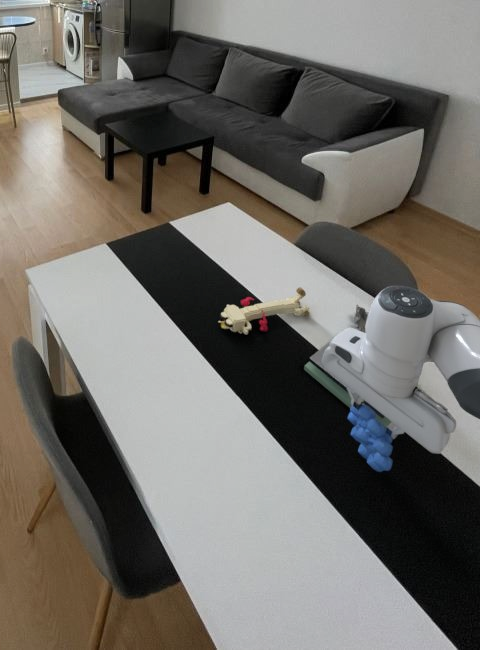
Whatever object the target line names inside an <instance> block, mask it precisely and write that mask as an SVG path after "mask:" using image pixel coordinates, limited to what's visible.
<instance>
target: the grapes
mask: <svg viewBox="0 0 480 650" xmlns="http://www.w3.org/2000/svg"><path fill="white" fill-rule="evenodd" d="M375 416H376V413H375V412H374V411H373V410H372V409H371V408H370V407H369V406H367V405H361V406H360V407H359V409H358V410H357V409H356V408H355V407H354V406H351V408H349V413H348V415H347V417H346V418H347V420H348V422H350V423H351V424H352V425H353V427H352V428H351V431H350V437H352V439H354V441H356V442H358V443H360V444H359V446H358V449H357V453H359V455H360V456H361V457H362V458H364V459H365V460H366V464H368V465H369V466H370V468H371V469H373V470H374V471H376V472H377V473H383V471H385V472H389V471H390V470H391V469H392V466H393V464H394V463H393V462H394V460H393V459H392V458H391V457H390V456H391V455H392V452H393V449H394V446H393V445H392V443H393V440H394V439H393V438H392V437H390V436H389V435H388V434H387V433H386V432H385V431H386V427H385V426H384V425H383V424H382V423H381V422H380V421H378V420H377V419H375Z"/></svg>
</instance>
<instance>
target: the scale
mask: <svg viewBox="0 0 480 650" xmlns="http://www.w3.org/2000/svg"><path fill="white" fill-rule="evenodd" d="M303 370H304V371H305V372H306V373H307V374H309V376H311V377H312V378H313V379H314V380H316V381H317V382H318V383H319V384H320V385H322V386H323V387H324V388H325V389H326V390H328V391H329V392H330V393H331V394H332V395H333V396H335V397H336V398H337V399H339V400H340V401H341V402H342V403H343V404H344V405H346V406H347V408H349V409H350V408H351V406H352V405H351V397H350V395H349V393H348V392H346V391H345V390H344V389H343V388H341V387H340V386H339V385H338V384H336V383H335V382H334V381H333V380H331V379H330V378H329V377H328V376H327V375H325V374H324V373H323V372H322V371H320V370H319V369H318V368H317V367H315V366H314V365H313V364H312V363H311V362H309V361H308V362H307V363H306V364H304V367H303ZM417 388H419V389H420V390H422V391H423V392H425V393H426V391H425V390H423V389H422V388H420V387H419V384H418V385H417ZM363 405H365V404H364V403H363ZM375 419H377V420H378V421H380V422H381V423H382V424H383V425H384V426H385V427H386V428H387V426H388V425H390V423H391V422H392V421H390V420H389V419H388V418H386V417H384V418H383V419H382V418H381V417H380V416H379V415H377V414H376V416H375Z"/></svg>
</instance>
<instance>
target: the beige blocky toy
mask: <svg viewBox="0 0 480 650" xmlns="http://www.w3.org/2000/svg"><path fill="white" fill-rule="evenodd" d="M296 293H297V294H296V295H294V296H292V297H285V299H277V300H271V301H266V302H265V301H264V302H260V303H254V304H253V305H250V303H251V302H250V301H254V300H255V299H254V298H253V297H251V296H247V297H245V298H244V299H241V300H240V305H241V306H243V307H242V308H241V307H239V306H237V305H235V304H226V307H225V308H224V309H223V311H222V312H220V314H219V318H220V319H221V320H222V321H221V320H218V321H217V323H219V324H220V327H221V329H224V330H228V329H229V330H230V331H231V332H233V333H237V332H238V333H239V334H240V335H241V334H244V335H249V331H252V324H251V323H250V322H251V321H253V320H257V319H260V320H258V324H259V325H260V327H259V330H260V331H261V332H268V329H269V328H268V319H266V318H267V317H269V316H275V315H283V314H284V315H285V314H293V315H294V316H295V317H299V316H301V315H302V316H303V317H307V316H308V317H309V316H310V311H309V309H310V307H309V306H308V305H303V306H301V302H300V301H301V300H303V298H305V297H306V295H307V293H306V291H305V289H303V288H302V287H298V288H296ZM300 306H301V307H300ZM262 319H263V320H262Z"/></svg>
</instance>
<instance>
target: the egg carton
mask: <svg viewBox="0 0 480 650" xmlns="http://www.w3.org/2000/svg"><path fill="white" fill-rule="evenodd" d="M368 313H369V311H366V309H365V308H364V307H362V306H359V304H356V305H355V312H354V313H353V322H354V329H356V330H359V331H361V332H364V333H366V331H365V325H366V321H367V317H368Z"/></svg>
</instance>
